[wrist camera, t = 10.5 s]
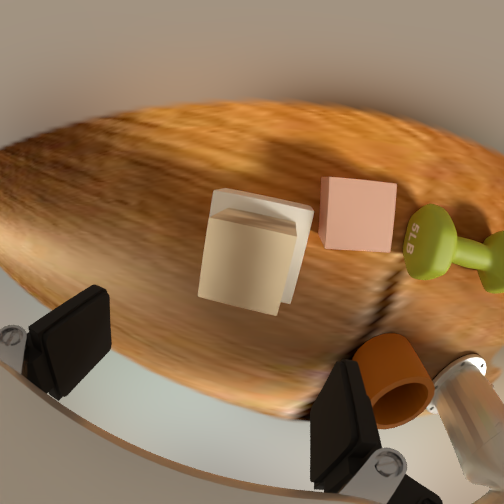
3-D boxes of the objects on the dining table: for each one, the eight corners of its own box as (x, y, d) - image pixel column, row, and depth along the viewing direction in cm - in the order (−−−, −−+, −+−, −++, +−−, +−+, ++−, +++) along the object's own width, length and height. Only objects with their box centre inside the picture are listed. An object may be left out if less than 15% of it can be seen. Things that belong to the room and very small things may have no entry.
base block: (310, 205, 28) (314, 211, 23) (290, 284, 30) (290, 304, 26) (226, 187, 28) (213, 190, 24) (213, 266, 31) (199, 282, 26)
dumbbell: (391, 264, 28) (416, 289, 21) (407, 195, 26) (439, 202, 19) (483, 285, 26) (512, 306, 20) (499, 229, 24) (533, 242, 17)
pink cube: (376, 181, 26) (396, 183, 20) (371, 237, 27) (390, 252, 22) (321, 176, 26) (329, 176, 21) (318, 234, 28) (325, 248, 22)
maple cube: (295, 222, 23) (297, 236, 18) (280, 284, 25) (276, 316, 19) (228, 207, 24) (208, 217, 18) (217, 270, 26) (197, 296, 20)
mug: (339, 325, 31) (354, 372, 22) (420, 334, 30) (448, 374, 21) (319, 380, 33) (325, 429, 24) (394, 385, 32) (412, 428, 23)
